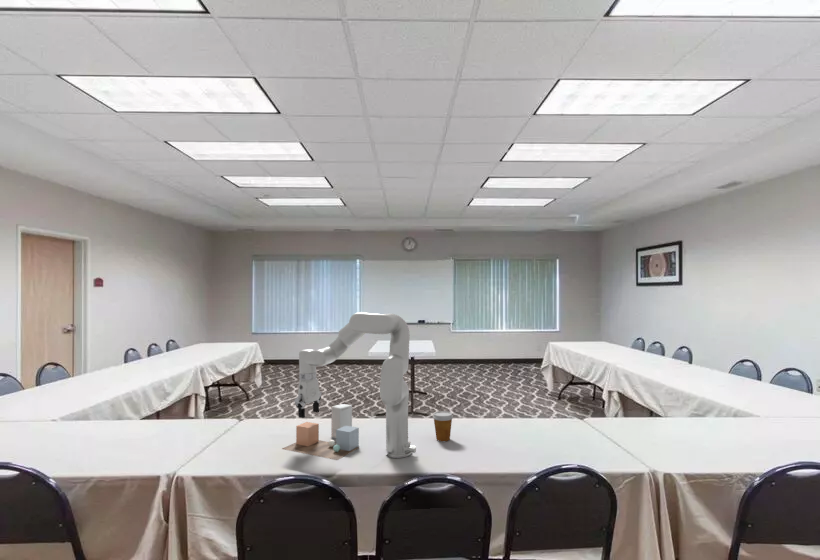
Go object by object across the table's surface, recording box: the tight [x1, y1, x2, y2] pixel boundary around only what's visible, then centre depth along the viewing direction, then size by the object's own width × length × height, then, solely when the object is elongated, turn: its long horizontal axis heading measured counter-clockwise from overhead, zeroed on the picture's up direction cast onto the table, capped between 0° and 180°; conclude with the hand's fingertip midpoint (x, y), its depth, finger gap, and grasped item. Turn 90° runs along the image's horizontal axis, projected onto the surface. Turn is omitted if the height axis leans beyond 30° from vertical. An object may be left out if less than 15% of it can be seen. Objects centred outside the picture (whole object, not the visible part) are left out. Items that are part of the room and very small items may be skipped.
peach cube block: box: [295, 421, 320, 446], centre depth 189 cm, size 7×7×8 cm
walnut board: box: [281, 440, 360, 461], centre depth 182 cm, size 30×16×2 cm, turn 63°
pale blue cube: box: [335, 426, 360, 451], centre depth 183 cm, size 7×7×8 cm
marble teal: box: [333, 445, 340, 452], centre depth 177 cm, size 3×3×3 cm
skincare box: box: [330, 403, 353, 439], centre depth 199 cm, size 8×7×16 cm
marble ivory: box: [327, 439, 336, 447], centre depth 184 cm, size 3×3×3 cm
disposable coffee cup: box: [432, 410, 454, 442], centre depth 197 cm, size 10×10×12 cm
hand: (309, 414), depth 190 cm, fingers open, 9 cm apart
